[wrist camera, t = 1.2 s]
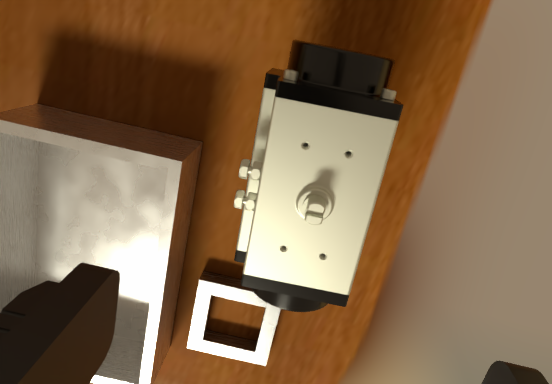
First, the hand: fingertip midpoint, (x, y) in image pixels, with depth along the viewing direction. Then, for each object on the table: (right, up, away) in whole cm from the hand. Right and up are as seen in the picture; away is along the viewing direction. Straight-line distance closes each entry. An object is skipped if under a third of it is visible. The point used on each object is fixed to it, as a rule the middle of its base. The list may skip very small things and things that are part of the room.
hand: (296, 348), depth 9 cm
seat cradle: (-12, 0, +22) cm, 25 cm away
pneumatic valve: (+2, +7, +18) cm, 20 cm away
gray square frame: (-3, -6, +23) cm, 24 cm away
